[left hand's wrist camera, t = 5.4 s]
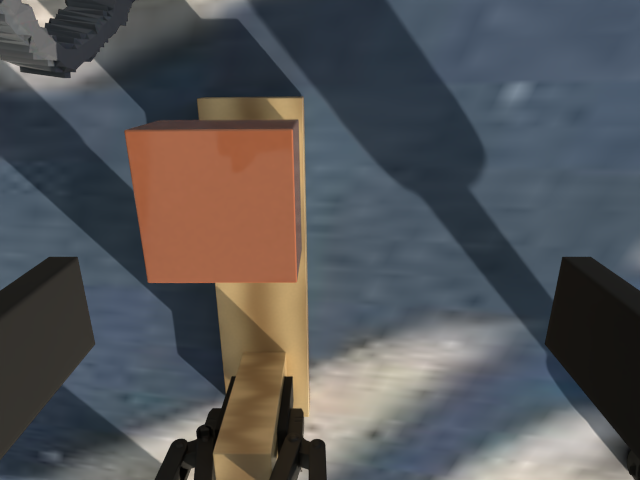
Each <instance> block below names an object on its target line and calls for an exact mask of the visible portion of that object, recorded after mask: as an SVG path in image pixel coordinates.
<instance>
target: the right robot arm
mask: <svg viewBox="0 0 640 480" xmlns="http://www.w3.org/2000/svg"><path fill="white" fill-rule="evenodd" d="M235 378H236V376H232V377H231V380H230V383H229V386H228V389H227V393H226V396H225V399H224V402H223V405H222V408H213V409H212V410H211V411H210V412H209V414H208V417H207V420H206V422H205V425H201V426H200V427H198V429H197V431H196V433H197V439H196V440H194V441H190V442H187V441H186V440H185V439H177V440H175V441H174V442H173V443H172V444H171V446H170V448H169V450H168V452H167V454H166V457H165V459H164V461H163V463H162V465H161V467H160V469H159V472H158V474H157V476H156V478H155V480H187V478H188V475H189V473H190V470H191V468H195V473H194V480H216V478H215V469H214V461H213V451H214V448H215V444H216V441H217V438H218V434H219V431H220V428H221V424H222V421H223V418H224V414H225V411H226V408H227V404H228V401H229V398H230V395H231V391H232V388H233V385H234V381H235ZM293 402H294V397H293V376H284V383H283V391H282V398H281V405H280V412H279V419H278V426H277V442H278V458H277V461H276V463H275V466H274V468H273V471H272V473H271V476H270V479H269V480H297V478H298V475H299V472H300V469H301V472H302V468H305V469H309V480H327V475H326V450H325V443H324V441H322V440H320V439H314V440H312V441H311V442H309V441H307V440H305V439H304V438H303V434H304V412H303V410H302V408H293Z"/></svg>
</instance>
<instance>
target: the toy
mask: <svg viewBox="0 0 640 480" xmlns="http://www.w3.org/2000/svg"><path fill="white" fill-rule="evenodd" d="M134 1H135V0H65V3H66V5H67V6H68V7H66V8H65V9H64V10H61V9H59V10H58V14H56V18H55V19H52V18H50V20H49V23H45V28H43V27H40V26H39V24H38V20H36V18H35V15H34V12H33V10H32V7H30V6H29V5H28V4H24V3H21V0H0V58H1V60H4V61H7V62H10V63H12V64H15V65H18V66H20V72H24V73H32V74H39V75H46V76H53V77H61V78H71V77H70V72H76V69H77V68H78V67H79V66H80V65H81V64H82V63H83V62H91V61H92V60H93V58H94V57H95V56H96V54H97V52H100V47H104V43H105V42H108V38H110V37H111V36H112V35H113V34H115V33H116V31H117V30H118V28H119V26H120V25H123V26H126V21H128V12H129V8H131V6H132V3H133V2H134Z"/></svg>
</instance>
